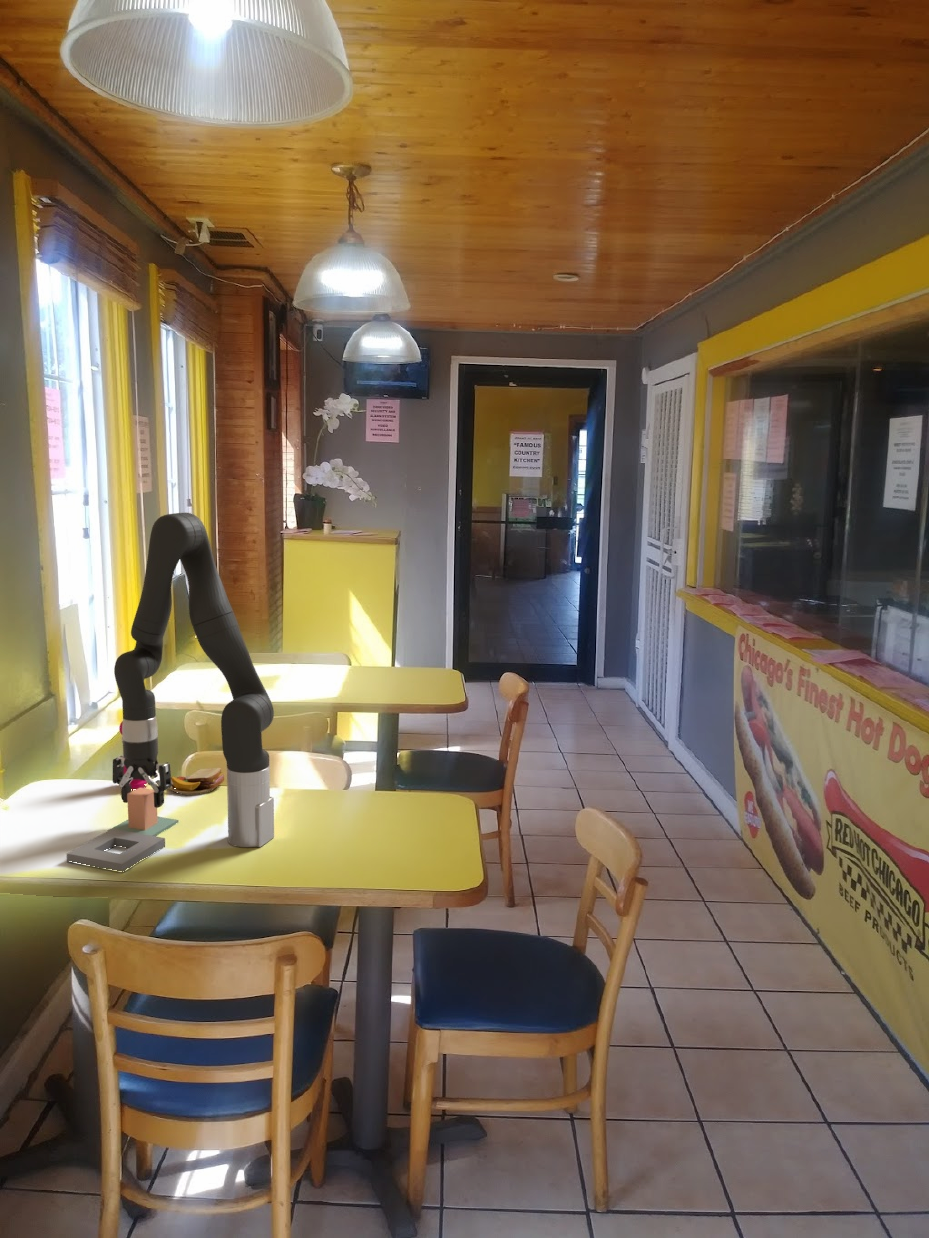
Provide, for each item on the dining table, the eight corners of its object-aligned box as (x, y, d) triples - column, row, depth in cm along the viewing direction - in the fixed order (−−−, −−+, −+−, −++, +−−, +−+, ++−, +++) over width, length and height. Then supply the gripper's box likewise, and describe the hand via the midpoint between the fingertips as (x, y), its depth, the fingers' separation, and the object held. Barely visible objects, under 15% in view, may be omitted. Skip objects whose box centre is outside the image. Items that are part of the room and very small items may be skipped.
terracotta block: (157, 822, 212) (156, 790, 210) (145, 830, 208) (143, 796, 206) (141, 820, 213) (140, 787, 212) (128, 827, 209) (127, 793, 208)
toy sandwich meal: (187, 777, 245) (187, 760, 244) (231, 783, 241) (231, 766, 240) (158, 793, 233) (158, 775, 232) (204, 800, 229) (204, 781, 228)
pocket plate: (165, 846, 200) (165, 838, 200) (122, 873, 187) (122, 863, 187) (112, 837, 205) (111, 828, 204) (67, 862, 192) (66, 853, 191)
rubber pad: (178, 822, 214) (178, 819, 214) (148, 840, 204) (148, 837, 203) (139, 815, 217) (139, 813, 217) (107, 832, 207) (107, 830, 207)
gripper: (177, 735, 208) (179, 802, 211) (124, 728, 212) (127, 794, 215) (156, 744, 201) (158, 814, 204) (102, 736, 205) (105, 805, 208)
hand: (142, 804), depth 209 cm, fingers open, 8 cm apart
